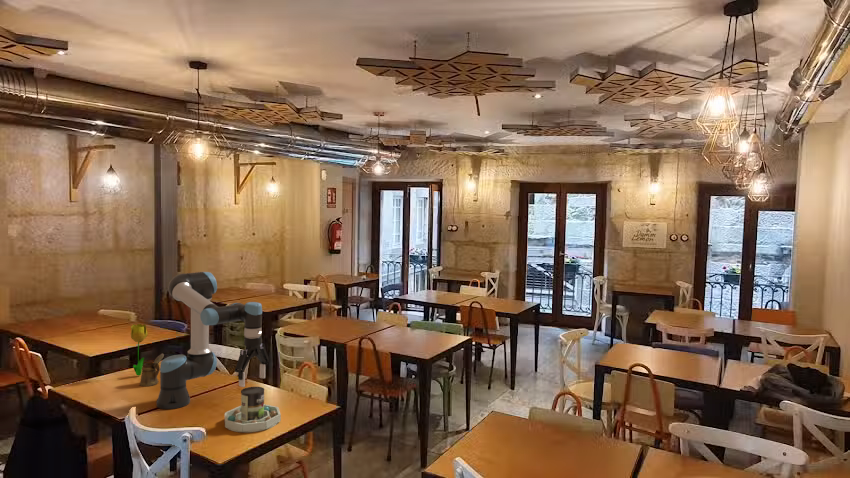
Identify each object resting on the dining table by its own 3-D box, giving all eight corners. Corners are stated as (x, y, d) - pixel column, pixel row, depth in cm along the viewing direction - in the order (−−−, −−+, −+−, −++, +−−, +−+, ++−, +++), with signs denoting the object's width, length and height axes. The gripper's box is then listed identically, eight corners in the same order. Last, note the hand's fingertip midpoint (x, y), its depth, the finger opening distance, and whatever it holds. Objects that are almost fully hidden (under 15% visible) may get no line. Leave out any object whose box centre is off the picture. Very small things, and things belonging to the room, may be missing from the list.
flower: (127, 378, 310) (126, 325, 308) (137, 373, 318) (136, 322, 316) (140, 379, 308) (140, 326, 306) (150, 375, 316) (150, 323, 314)
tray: (213, 426, 246) (213, 417, 245) (250, 408, 268) (250, 400, 267) (255, 436, 236) (255, 427, 236) (290, 417, 258) (290, 409, 258)
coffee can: (268, 417, 256) (268, 387, 255) (257, 425, 246) (257, 394, 245) (248, 414, 258) (248, 385, 257) (236, 423, 248) (236, 392, 247)
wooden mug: (156, 388, 294) (156, 355, 293) (135, 385, 298) (135, 352, 297) (168, 383, 303) (168, 351, 302) (148, 380, 306) (148, 348, 305)
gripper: (239, 343, 237) (239, 391, 238) (277, 332, 259) (276, 375, 261) (226, 341, 240) (226, 388, 241) (264, 329, 262) (264, 373, 264)
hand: (252, 382), depth 251 cm, fingers open, 13 cm apart
